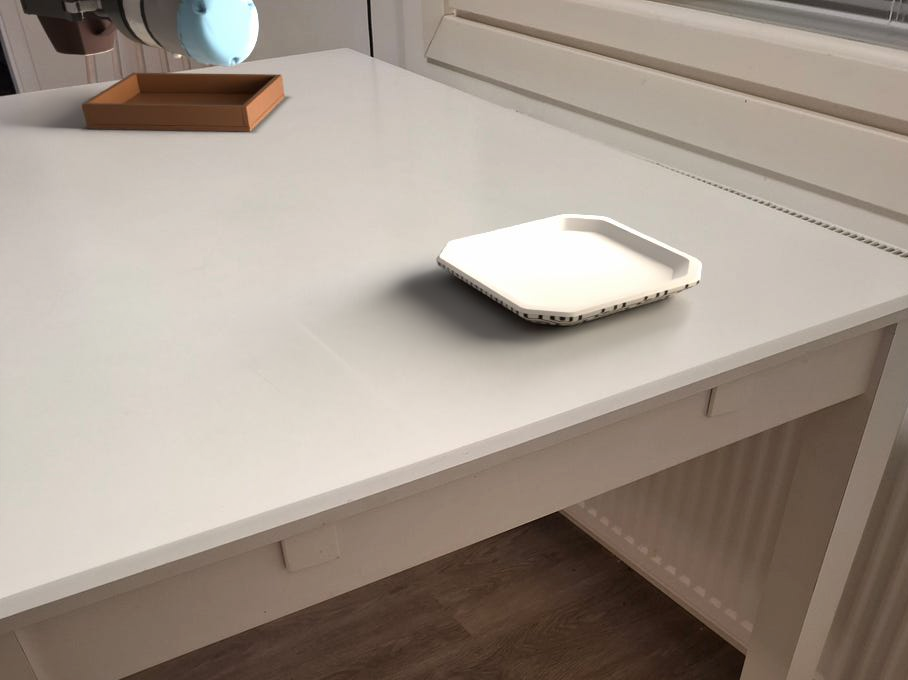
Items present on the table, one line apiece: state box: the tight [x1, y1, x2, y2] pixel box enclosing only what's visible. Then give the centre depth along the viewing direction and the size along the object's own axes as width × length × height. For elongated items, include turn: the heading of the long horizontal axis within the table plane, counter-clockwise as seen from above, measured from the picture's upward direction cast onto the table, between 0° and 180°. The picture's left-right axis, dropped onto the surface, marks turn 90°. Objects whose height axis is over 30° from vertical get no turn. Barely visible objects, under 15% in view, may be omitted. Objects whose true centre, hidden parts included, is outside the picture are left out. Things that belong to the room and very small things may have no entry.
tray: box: [81, 72, 286, 133], centre depth 133 cm, size 24×20×3 cm
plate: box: [436, 213, 703, 327], centre depth 86 cm, size 21×21×2 cm
